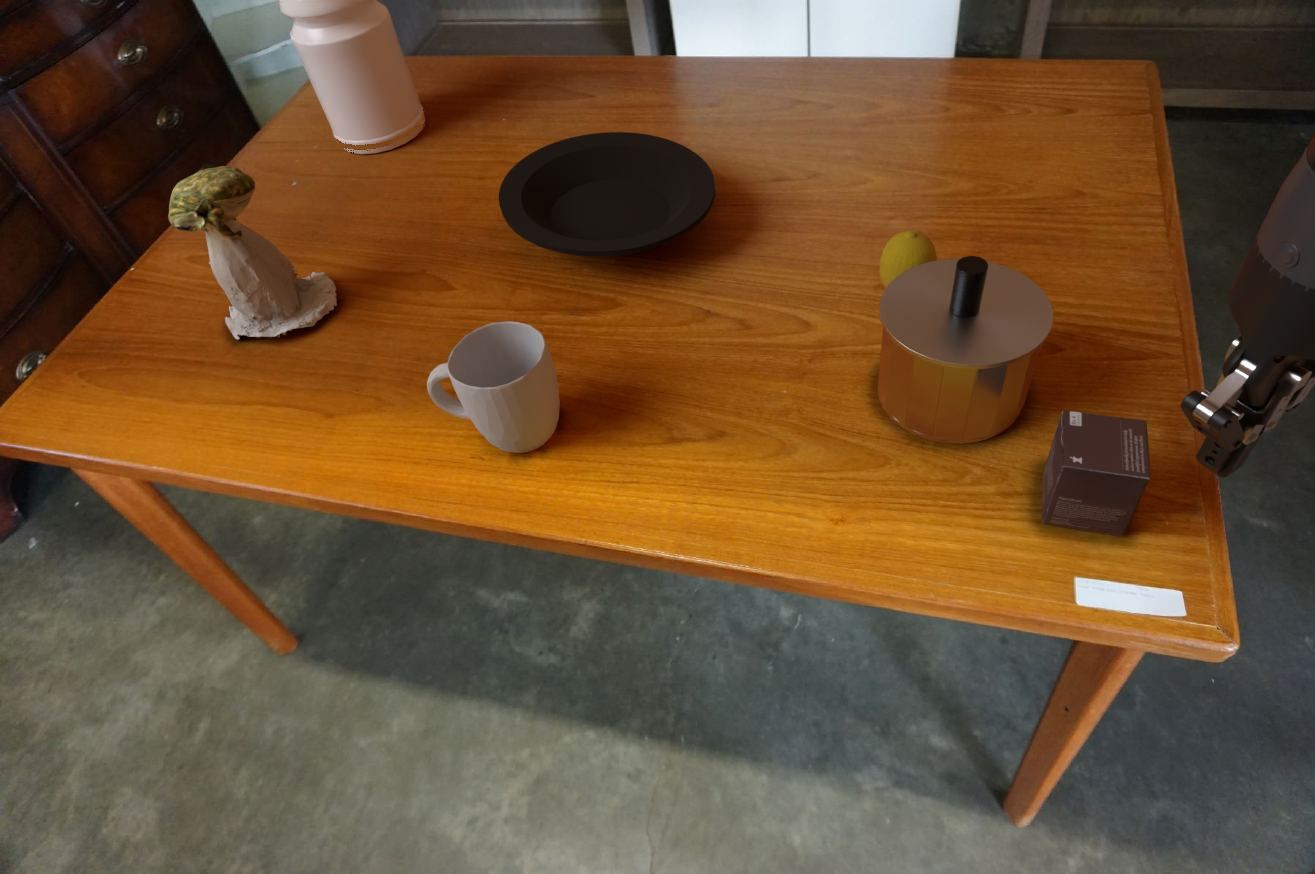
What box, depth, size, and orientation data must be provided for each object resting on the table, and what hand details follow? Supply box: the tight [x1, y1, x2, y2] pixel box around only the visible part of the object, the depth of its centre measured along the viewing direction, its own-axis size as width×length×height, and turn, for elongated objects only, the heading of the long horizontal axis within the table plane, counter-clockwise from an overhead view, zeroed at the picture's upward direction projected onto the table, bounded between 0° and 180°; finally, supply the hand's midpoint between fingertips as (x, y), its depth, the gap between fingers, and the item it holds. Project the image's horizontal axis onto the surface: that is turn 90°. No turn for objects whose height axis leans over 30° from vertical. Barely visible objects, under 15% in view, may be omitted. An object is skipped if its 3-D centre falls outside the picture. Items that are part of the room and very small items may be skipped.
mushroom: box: [167, 165, 338, 340], centre depth 92 cm, size 12×13×18 cm
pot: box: [876, 327, 1042, 445], centre depth 74 cm, size 13×13×10 cm
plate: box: [498, 131, 717, 258], centre depth 100 cm, size 28×24×6 cm
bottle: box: [278, 0, 426, 155], centre depth 117 cm, size 14×14×28 cm
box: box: [1041, 410, 1151, 537], centre depth 65 cm, size 6×6×7 cm
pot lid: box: [878, 255, 1054, 369], centre depth 69 cm, size 14×14×6 cm
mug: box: [426, 320, 561, 454], centre depth 78 cm, size 13×9×10 cm
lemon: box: [879, 230, 938, 289], centre depth 84 cm, size 6×6×8 cm
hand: (1217, 464), depth 55 cm, fingers closed
